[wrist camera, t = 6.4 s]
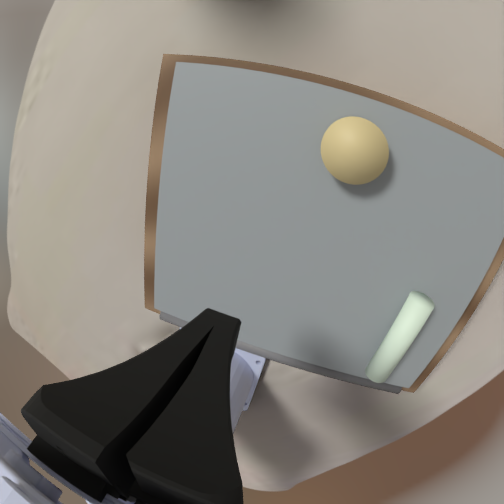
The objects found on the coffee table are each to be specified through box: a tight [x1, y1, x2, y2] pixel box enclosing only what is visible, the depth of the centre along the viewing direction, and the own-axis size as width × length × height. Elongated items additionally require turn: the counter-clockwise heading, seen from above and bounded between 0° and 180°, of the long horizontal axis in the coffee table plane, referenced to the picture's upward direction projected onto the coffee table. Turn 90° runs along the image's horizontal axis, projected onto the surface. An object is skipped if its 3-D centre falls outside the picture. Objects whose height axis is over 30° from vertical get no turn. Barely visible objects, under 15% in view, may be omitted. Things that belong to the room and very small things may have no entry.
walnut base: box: [144, 54, 504, 393], centre depth 18 cm, size 18×22×3 cm
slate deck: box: [154, 62, 504, 394], centre depth 16 cm, size 17×19×3 cm
